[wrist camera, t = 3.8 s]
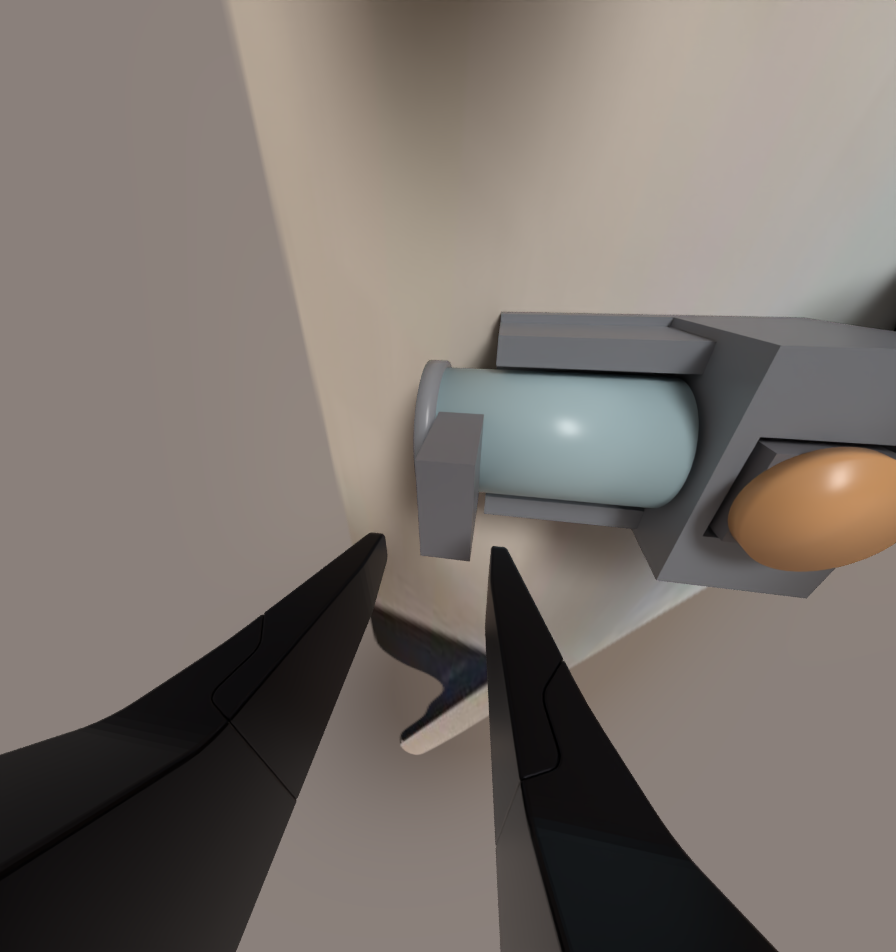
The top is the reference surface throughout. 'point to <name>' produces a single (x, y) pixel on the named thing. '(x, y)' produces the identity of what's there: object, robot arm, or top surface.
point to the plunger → (811, 504)
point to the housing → (714, 416)
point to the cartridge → (544, 443)
